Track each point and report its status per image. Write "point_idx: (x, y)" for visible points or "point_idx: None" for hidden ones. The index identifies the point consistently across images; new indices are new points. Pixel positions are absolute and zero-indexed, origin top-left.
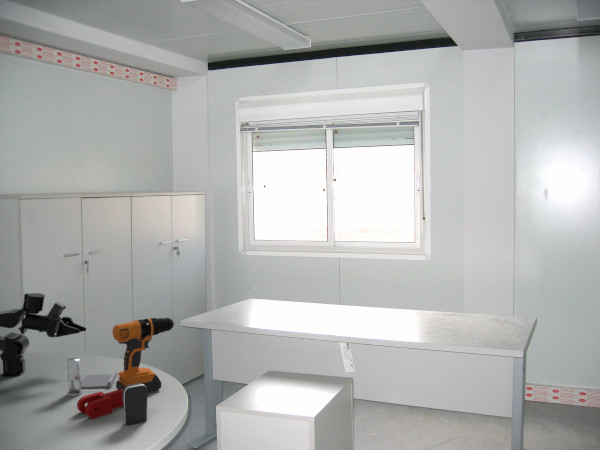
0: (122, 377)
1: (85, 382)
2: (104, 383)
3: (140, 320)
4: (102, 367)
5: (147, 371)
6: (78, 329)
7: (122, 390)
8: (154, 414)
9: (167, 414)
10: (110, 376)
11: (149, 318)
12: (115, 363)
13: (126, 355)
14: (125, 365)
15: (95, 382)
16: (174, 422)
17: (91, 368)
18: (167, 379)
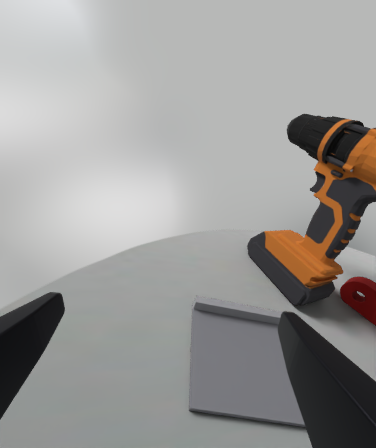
0: (340, 272)
1: (269, 399)
2: (266, 334)
3: (360, 127)
4: (95, 346)
5: (297, 233)
6: (296, 318)
7: (372, 283)
8: (357, 267)
9: (348, 255)
10: (211, 318)
11: (343, 119)
12: (72, 304)
13: (358, 226)
14: (344, 247)
15: (263, 361)
16: (365, 253)
17: (86, 394)
18: (220, 233)
